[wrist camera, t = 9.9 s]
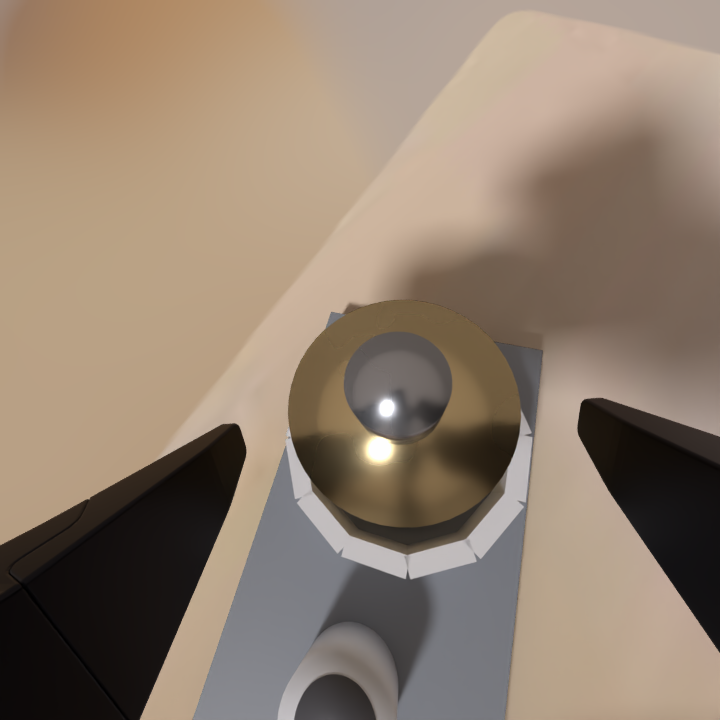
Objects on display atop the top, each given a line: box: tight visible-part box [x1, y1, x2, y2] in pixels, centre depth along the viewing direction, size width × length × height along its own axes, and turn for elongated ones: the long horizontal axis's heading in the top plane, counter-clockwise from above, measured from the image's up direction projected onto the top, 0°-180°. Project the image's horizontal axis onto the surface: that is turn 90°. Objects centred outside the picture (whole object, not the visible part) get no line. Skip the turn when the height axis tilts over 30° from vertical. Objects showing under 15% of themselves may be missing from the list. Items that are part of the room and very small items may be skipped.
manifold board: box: [193, 312, 543, 720], centre depth 15 cm, size 23×12×5 cm, turn 165°
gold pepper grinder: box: [288, 300, 521, 527], centre depth 11 cm, size 7×7×12 cm
